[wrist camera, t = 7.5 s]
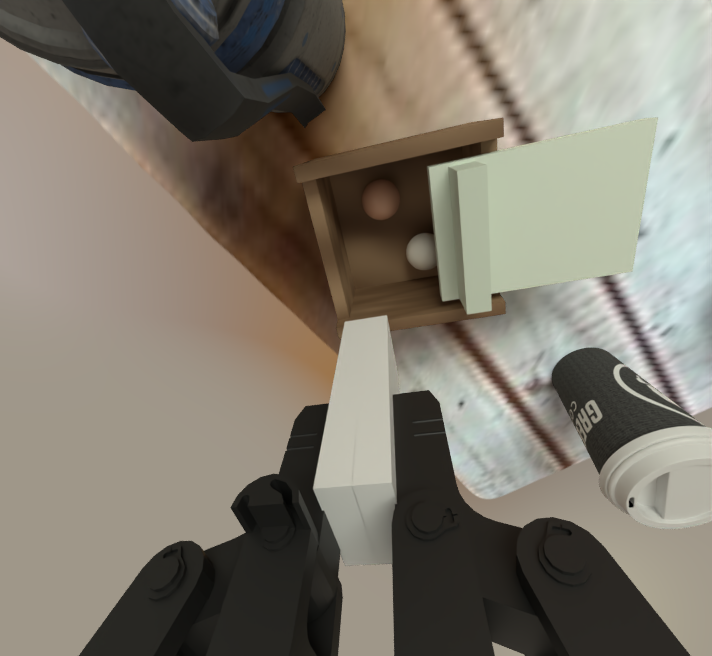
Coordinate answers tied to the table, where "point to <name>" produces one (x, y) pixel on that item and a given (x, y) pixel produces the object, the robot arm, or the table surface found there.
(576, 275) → the lid
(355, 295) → the box
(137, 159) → the table surface
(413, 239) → the ball cream
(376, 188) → the ball terracotta
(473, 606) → the robot arm
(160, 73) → the beverage bottle
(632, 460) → the coffee cup
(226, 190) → the table surface
